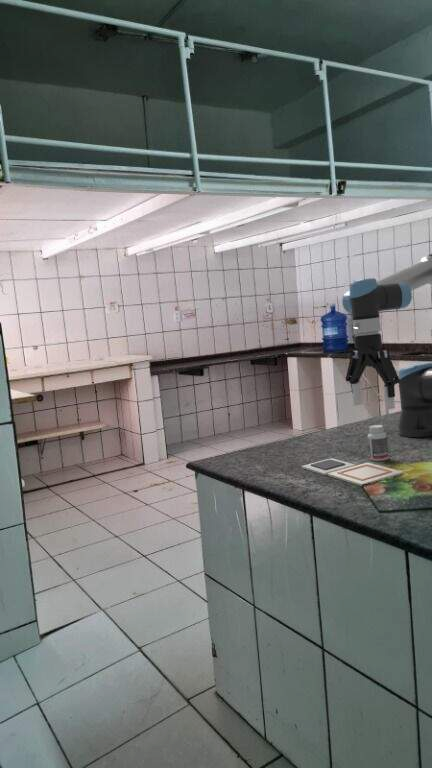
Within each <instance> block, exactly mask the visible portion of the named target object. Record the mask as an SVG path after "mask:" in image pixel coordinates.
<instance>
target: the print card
mask: <svg viewBox="0 0 432 768" xmlns="http://www.w3.org/2000/svg"><path fill="white" fill-rule="evenodd" d="M355 465H356V464H355ZM400 474H401V475H404V471H401V470H399V469H393V468H390V467H387V466H386V467H385V466H383V465H378V464H374V463H371V462H364V463H361V464H357V465H356V466H353V467H349V468H346V469H342V470H338V471H335V472H331V473H328V474H327V476H328V477H331V478H335V479H337V480H339V481H344V482H347V483H349V484H353V485H356V486H359V487H363V486H362V485H363V484H368V483H371V484H373V483H372V482H375V481H378V482H380V481H379V480H381V481H383V480H382V479H385V478H388V479H390V478H389V477H391V478H394V477H393V476H395V477H397V476H396V475H398V476H400ZM385 480H386V479H385ZM375 483H376V482H375ZM368 485H369V484H368Z"/></svg>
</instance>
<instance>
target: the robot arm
mask: <svg viewBox="0 0 432 768" xmlns="http://www.w3.org/2000/svg"><path fill="white" fill-rule="evenodd" d="M426 285H432V253H430V254H428V255H426V256H424V257H422V258H421V259H420V260H419V262H417V263H414V264H413V265H411V266H408V267H406V268H404V269H402V270H399V271H396V272H393V273H391V274H390V275H388V276H385V277H383V278H380V279H376V278H364V279H363V278H362V279H357V280H353V281H351V282H350V283H349V290H347V291H346V292H345V293H344V295H343V296H342V301H341V302H342V307H343V309H344V310H345V311H346V312H347V313H349V314H351V317H352V318H351V319H352V328H353V334H355V336H354V337H353V340H354V341H353V342H354V348H355V349H356V350H351V351H350V353H349V354H350V355H349V358H350V359H349V363H348V367H347V371H346V375H345V381H346V382H349V383H350V386H351V394H352V400H353V406H356V407H357V406H361V405H363V394H362V383H361V381H360V380H361V378H362V375H363V373H364V371H365V369H366V368H367V367H370V368H373V369H374V370H375V371H376V372H377V374H378V376H380V378H381V380H382V382H383V383H384V385H383V392H384V393H383V395H384V406H385V410H386V411H388V410H391V409H392V410H393V409H396V403H395V397H396V391H395V386H396V385H397V384H398V389H399V401H400V408H401V409H400V410H401V411H400V412H401V413H400V415H399V417H400V418H399V422H398V425H397V434H398V435H400V436H402V437H406V438H407V437H408V438H425V437H432V362H426V363H425V362H424V363H420V364H414V365H413V364H412V365H409V366H405V367H403V366H402V367H401V368H400V369H399V370H398V373H397V371H396V369H395V366H394V365H393V364H394V363H393V361H392V359H391V356H390V350H388V349H384V350H381V346H382V345H383V340H382V334H381V333H380V332H381V330H382V329H381V328H382V327H381V326H382V325H381V319H380V318H381V316H380V312H382V311H391V310H392V311H393V310H401V309H404V308H406V307H408V306H409V305H410V304H411V302H412V299H413V296H412V295H413V293H412V291H415V290H417V289H419V288H421V287H423V286H426Z"/></svg>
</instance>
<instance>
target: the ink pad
mask: <svg viewBox="0 0 432 768" xmlns="http://www.w3.org/2000/svg"><path fill="white" fill-rule="evenodd" d="M353 466H356V464H355V463H351V462H347V461H344V460H340V459H337V458H332V457H331V458H326V459H324V460H323V459H322V460H319V461H316V462H312V463H308V464H304V465H301V467H300V468H301V469H304V470H306V471H309V472H313V473H316V474H319V475H322V476H328V473H331V472H335V471H338V470H342V469H346V468H349V467H353Z"/></svg>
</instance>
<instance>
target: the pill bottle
mask: <svg viewBox="0 0 432 768" xmlns="http://www.w3.org/2000/svg"><path fill="white" fill-rule="evenodd" d="M368 429H369V433H368V435H367V445H368V447H367V448H368V454H369V460H370V461H372V462H373V461H374V462H383V461H387V460H388V459H389V449H388V438H387V433H386V432H384V426H383V424H374V425H370V426H368Z"/></svg>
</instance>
